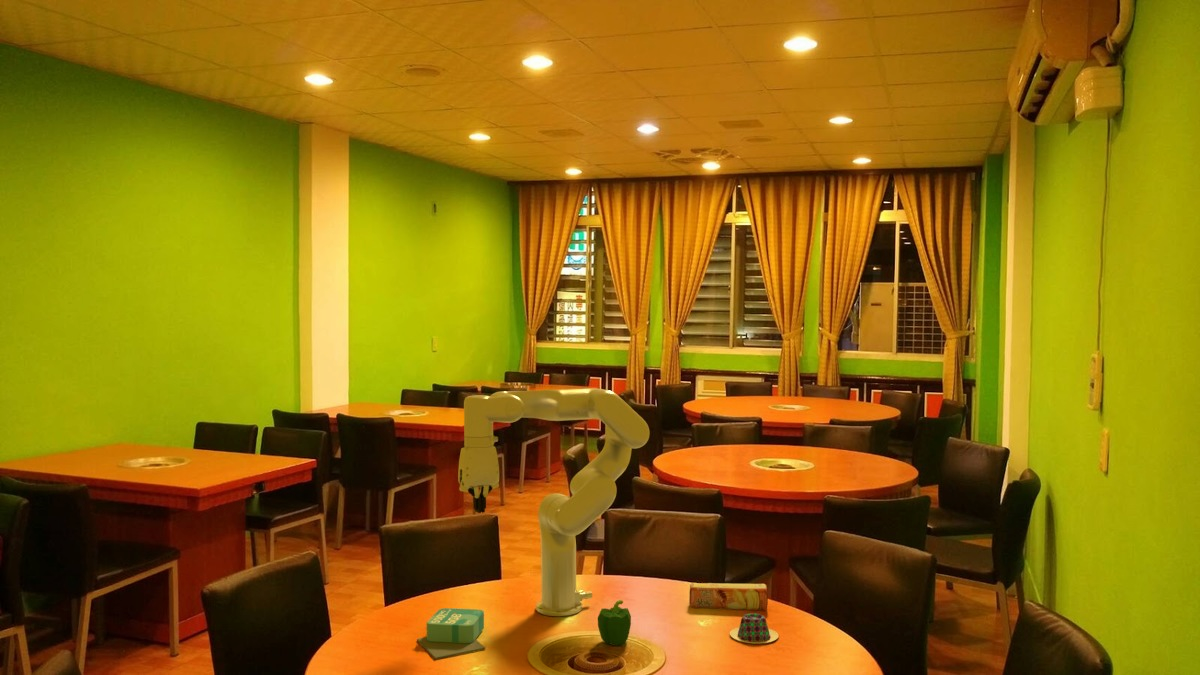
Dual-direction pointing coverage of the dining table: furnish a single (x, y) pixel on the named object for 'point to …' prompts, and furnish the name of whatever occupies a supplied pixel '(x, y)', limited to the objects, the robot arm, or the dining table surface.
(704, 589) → the snack package
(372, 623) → the dining table surface
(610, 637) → the bell pepper
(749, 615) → the pudding
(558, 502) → the robot arm
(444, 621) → the teal square box
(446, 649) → the mat
